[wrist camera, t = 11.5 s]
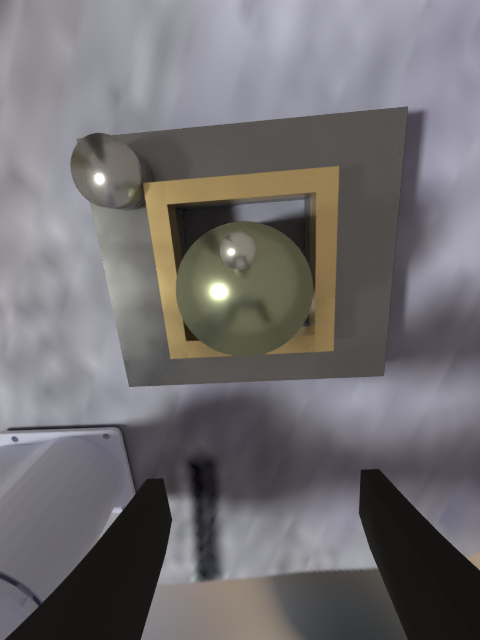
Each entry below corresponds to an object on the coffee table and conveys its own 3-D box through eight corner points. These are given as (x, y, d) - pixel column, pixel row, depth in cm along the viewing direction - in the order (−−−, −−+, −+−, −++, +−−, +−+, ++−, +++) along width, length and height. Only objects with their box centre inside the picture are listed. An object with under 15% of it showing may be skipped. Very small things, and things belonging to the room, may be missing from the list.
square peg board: (138, 375, 20) (114, 404, 16) (92, 147, 15) (49, 124, 12) (373, 364, 19) (400, 393, 15) (392, 118, 14) (434, 85, 11)
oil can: (213, 305, 18) (174, 380, 9) (205, 229, 16) (149, 226, 7) (286, 300, 18) (323, 374, 9) (284, 223, 16) (325, 212, 7)
